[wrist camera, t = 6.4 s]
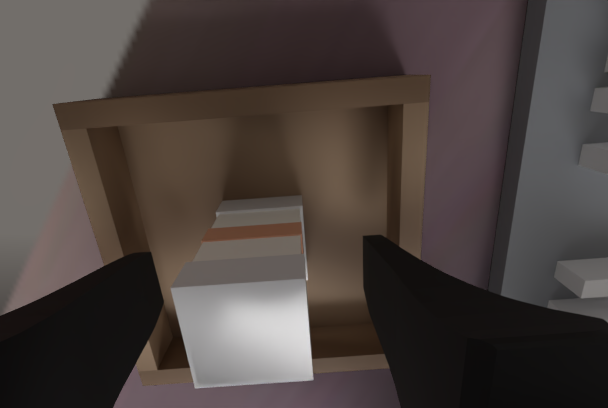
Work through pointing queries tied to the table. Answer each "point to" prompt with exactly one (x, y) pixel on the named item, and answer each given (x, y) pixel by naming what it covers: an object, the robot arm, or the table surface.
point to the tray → (258, 189)
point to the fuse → (607, 67)
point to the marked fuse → (248, 296)
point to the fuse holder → (557, 164)
